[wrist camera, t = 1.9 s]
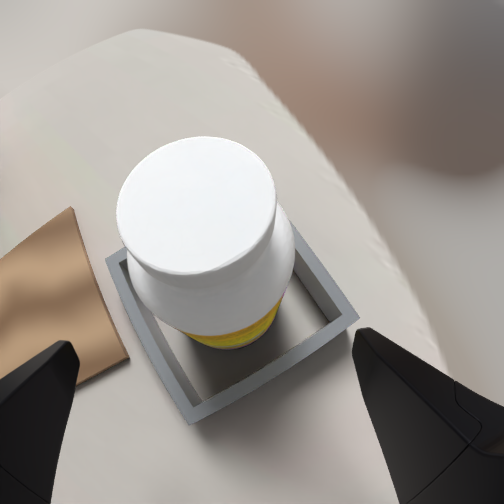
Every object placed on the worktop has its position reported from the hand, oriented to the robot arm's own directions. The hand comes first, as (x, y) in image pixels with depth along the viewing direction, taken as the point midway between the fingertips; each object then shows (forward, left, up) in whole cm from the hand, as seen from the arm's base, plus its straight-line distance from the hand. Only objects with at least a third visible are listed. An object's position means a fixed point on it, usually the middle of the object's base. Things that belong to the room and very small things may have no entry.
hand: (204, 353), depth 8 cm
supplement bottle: (+4, -2, -11) cm, 12 cm away
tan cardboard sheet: (+11, +13, -11) cm, 20 cm away
